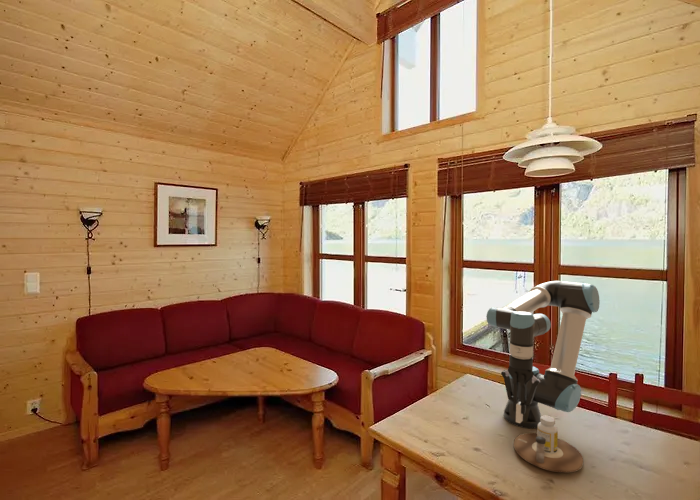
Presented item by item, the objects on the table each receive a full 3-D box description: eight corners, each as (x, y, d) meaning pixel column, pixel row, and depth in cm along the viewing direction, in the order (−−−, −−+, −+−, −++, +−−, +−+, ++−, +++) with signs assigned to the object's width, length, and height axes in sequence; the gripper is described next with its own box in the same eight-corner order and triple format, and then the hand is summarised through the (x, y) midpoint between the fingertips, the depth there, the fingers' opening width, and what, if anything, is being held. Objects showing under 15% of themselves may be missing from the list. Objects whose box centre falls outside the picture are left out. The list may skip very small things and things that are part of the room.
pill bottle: (555, 446, 134) (555, 415, 133) (559, 456, 127) (559, 424, 127) (535, 442, 136) (536, 412, 135) (538, 452, 130) (539, 421, 129)
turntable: (505, 453, 131) (506, 429, 130) (524, 429, 147) (525, 407, 147) (575, 481, 116) (576, 454, 116) (588, 451, 132) (589, 427, 132)
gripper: (498, 354, 129) (496, 418, 130) (538, 363, 121) (535, 432, 121) (505, 349, 135) (504, 411, 136) (544, 357, 126) (542, 423, 127)
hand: (519, 421), depth 129 cm, fingers closed
